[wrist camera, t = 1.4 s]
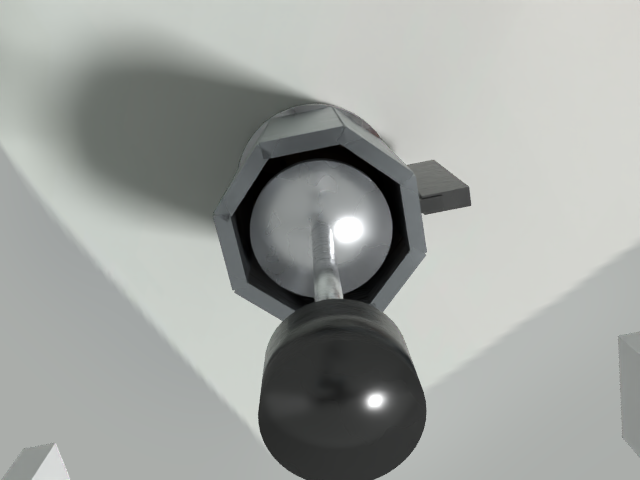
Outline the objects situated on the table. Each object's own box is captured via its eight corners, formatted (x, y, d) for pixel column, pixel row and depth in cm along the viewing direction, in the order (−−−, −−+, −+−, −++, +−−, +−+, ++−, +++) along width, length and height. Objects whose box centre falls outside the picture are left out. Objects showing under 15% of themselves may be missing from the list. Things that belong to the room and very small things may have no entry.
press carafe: (221, 121, 37) (186, 148, 26) (415, 81, 37) (466, 91, 26) (257, 268, 41) (240, 350, 29) (436, 233, 40) (490, 302, 29)
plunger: (236, 173, 28) (158, 312, 13) (377, 145, 27) (472, 251, 12) (268, 303, 30) (234, 555, 15) (399, 277, 30) (502, 506, 14)
